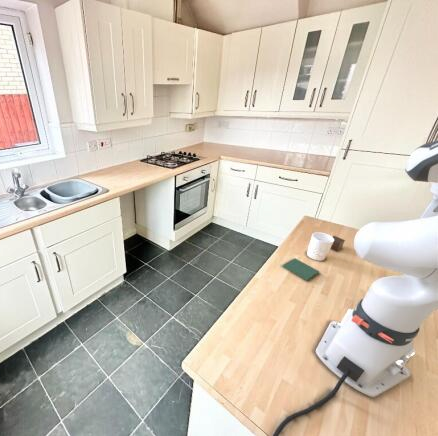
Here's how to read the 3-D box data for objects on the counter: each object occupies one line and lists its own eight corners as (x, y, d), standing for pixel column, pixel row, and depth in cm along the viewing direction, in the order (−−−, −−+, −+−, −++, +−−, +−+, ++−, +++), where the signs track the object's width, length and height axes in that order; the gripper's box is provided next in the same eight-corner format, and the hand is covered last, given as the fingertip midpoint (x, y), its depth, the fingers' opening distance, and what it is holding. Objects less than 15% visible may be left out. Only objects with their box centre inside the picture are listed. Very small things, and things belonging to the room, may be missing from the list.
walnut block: (336, 251, 110) (340, 243, 108) (325, 246, 113) (329, 238, 111) (341, 248, 112) (345, 240, 110) (330, 243, 115) (334, 235, 113)
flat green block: (307, 281, 94) (307, 278, 93) (282, 266, 101) (283, 264, 101) (318, 273, 97) (319, 271, 97) (294, 260, 105) (294, 258, 104)
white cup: (324, 253, 109) (332, 234, 104) (327, 263, 102) (335, 244, 98) (304, 249, 112) (311, 230, 107) (305, 258, 106) (313, 239, 101)
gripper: (461, 201, 60) (431, 246, 67) (482, 185, 69) (453, 226, 76) (426, 193, 65) (401, 236, 72) (449, 178, 74) (425, 218, 80)
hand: (428, 231), depth 74 cm, fingers closed
